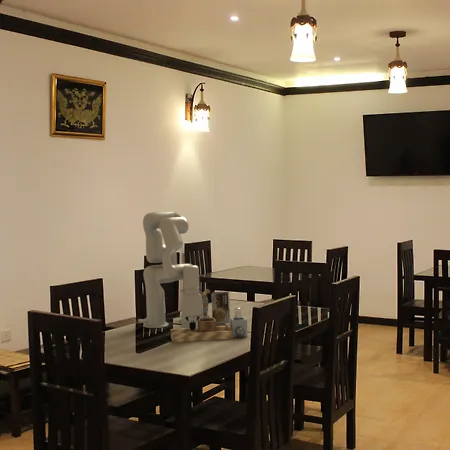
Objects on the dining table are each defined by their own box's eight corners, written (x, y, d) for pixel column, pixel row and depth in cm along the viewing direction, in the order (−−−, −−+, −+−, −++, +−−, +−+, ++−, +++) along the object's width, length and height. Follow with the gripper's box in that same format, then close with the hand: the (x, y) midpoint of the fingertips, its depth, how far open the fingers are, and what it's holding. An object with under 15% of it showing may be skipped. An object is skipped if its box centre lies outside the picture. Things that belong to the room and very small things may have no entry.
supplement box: (195, 329, 350) (194, 304, 350) (181, 328, 352) (180, 304, 351) (199, 326, 358) (198, 301, 357) (185, 326, 359) (184, 301, 359)
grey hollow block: (233, 338, 324) (233, 321, 323) (230, 334, 334) (230, 317, 333) (248, 337, 325) (247, 320, 324) (245, 333, 335) (244, 317, 334)
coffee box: (230, 321, 369) (229, 291, 368) (229, 323, 362) (228, 292, 362) (213, 321, 369) (212, 291, 369) (212, 324, 363) (211, 293, 362)
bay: (172, 342, 320) (171, 330, 320) (170, 336, 333) (170, 325, 333) (232, 338, 324) (232, 327, 323) (228, 333, 337) (228, 322, 336)
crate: (199, 336, 324) (199, 321, 323) (198, 333, 333) (197, 318, 333) (216, 335, 325) (216, 321, 324) (214, 332, 334) (214, 317, 334)
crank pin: (235, 325, 329) (235, 308, 328) (234, 324, 332) (234, 307, 332) (242, 325, 329) (241, 308, 329) (241, 324, 332) (240, 307, 332)
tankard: (200, 321, 371) (199, 293, 370) (181, 320, 377) (180, 292, 377) (220, 315, 388) (219, 288, 387) (201, 314, 394) (200, 288, 394)
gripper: (175, 293, 322) (177, 332, 323) (208, 292, 324) (209, 331, 325) (175, 291, 330) (176, 329, 331) (206, 289, 332) (207, 328, 332)
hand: (192, 330), depth 328 cm, fingers closed
